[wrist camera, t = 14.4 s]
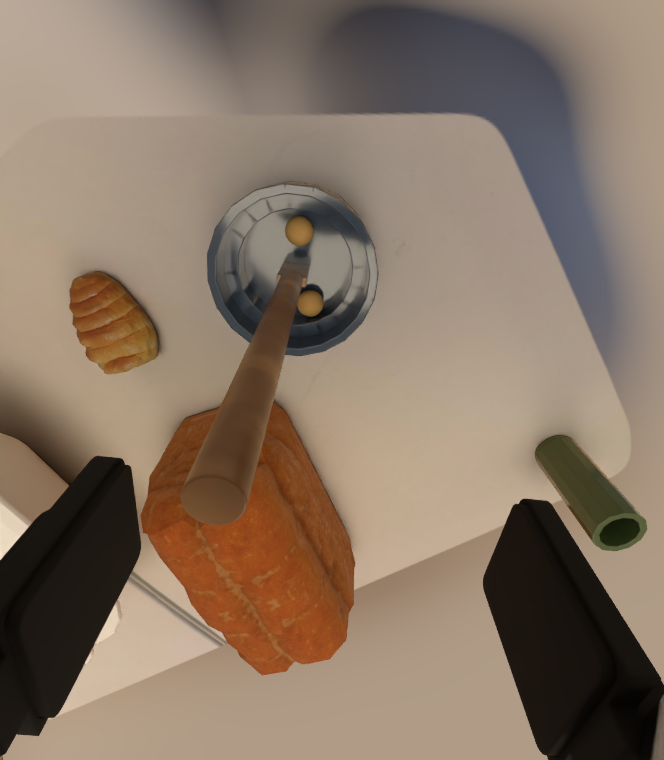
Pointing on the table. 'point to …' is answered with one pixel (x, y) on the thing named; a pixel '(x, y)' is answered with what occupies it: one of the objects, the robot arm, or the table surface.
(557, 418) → the table surface
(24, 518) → the baking dish
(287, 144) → the table surface
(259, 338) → the wooden dowel rod
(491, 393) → the table surface
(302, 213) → the bowl
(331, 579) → the bread
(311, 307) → the chickpea
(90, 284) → the pastry
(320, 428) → the table surface
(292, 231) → the chickpea
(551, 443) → the utensil pot
